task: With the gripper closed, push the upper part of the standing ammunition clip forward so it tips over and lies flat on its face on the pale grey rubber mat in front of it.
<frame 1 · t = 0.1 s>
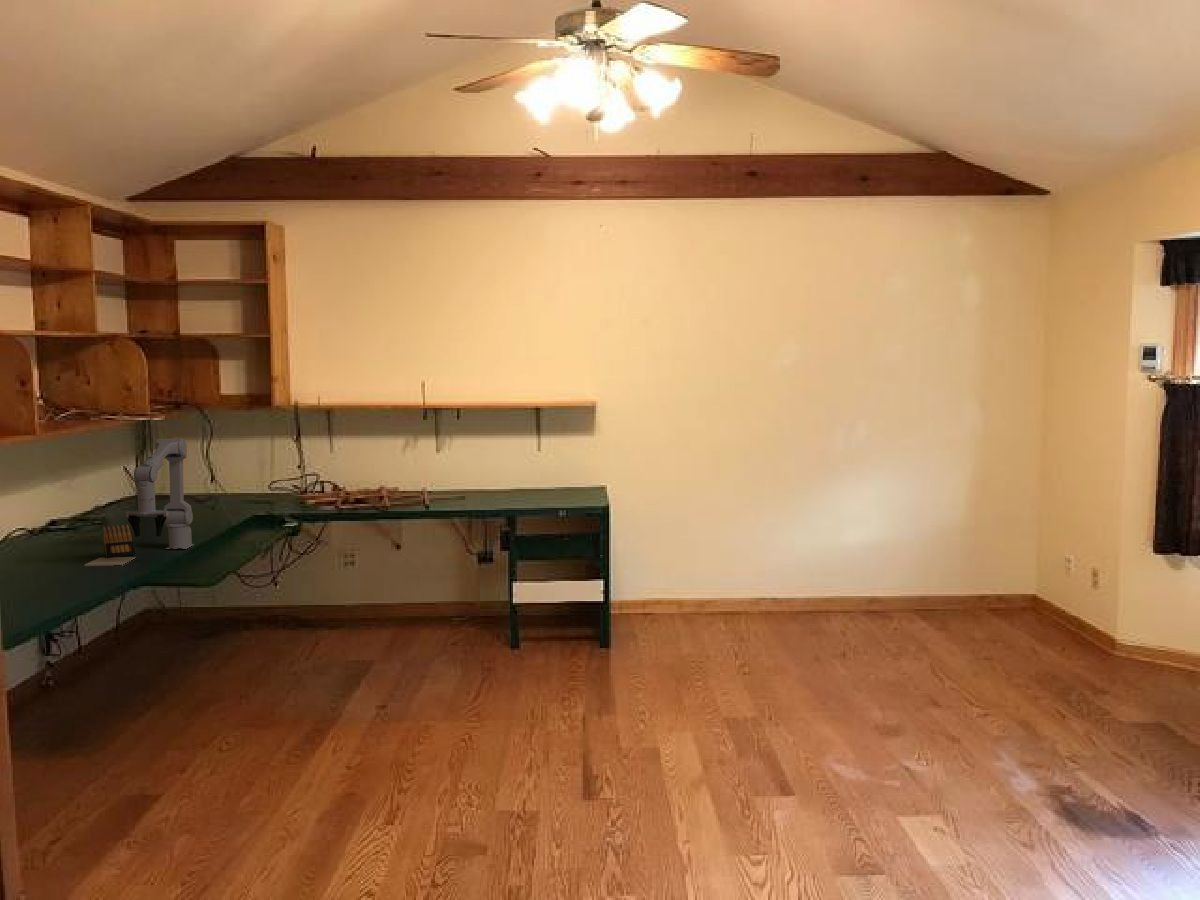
hand: (148, 536, 348), 10 cm above the table, tool pointing down, fingers open, 7 cm apart
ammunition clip: (120, 556, 359), on the table, touching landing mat
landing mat: (110, 562, 351), on the table
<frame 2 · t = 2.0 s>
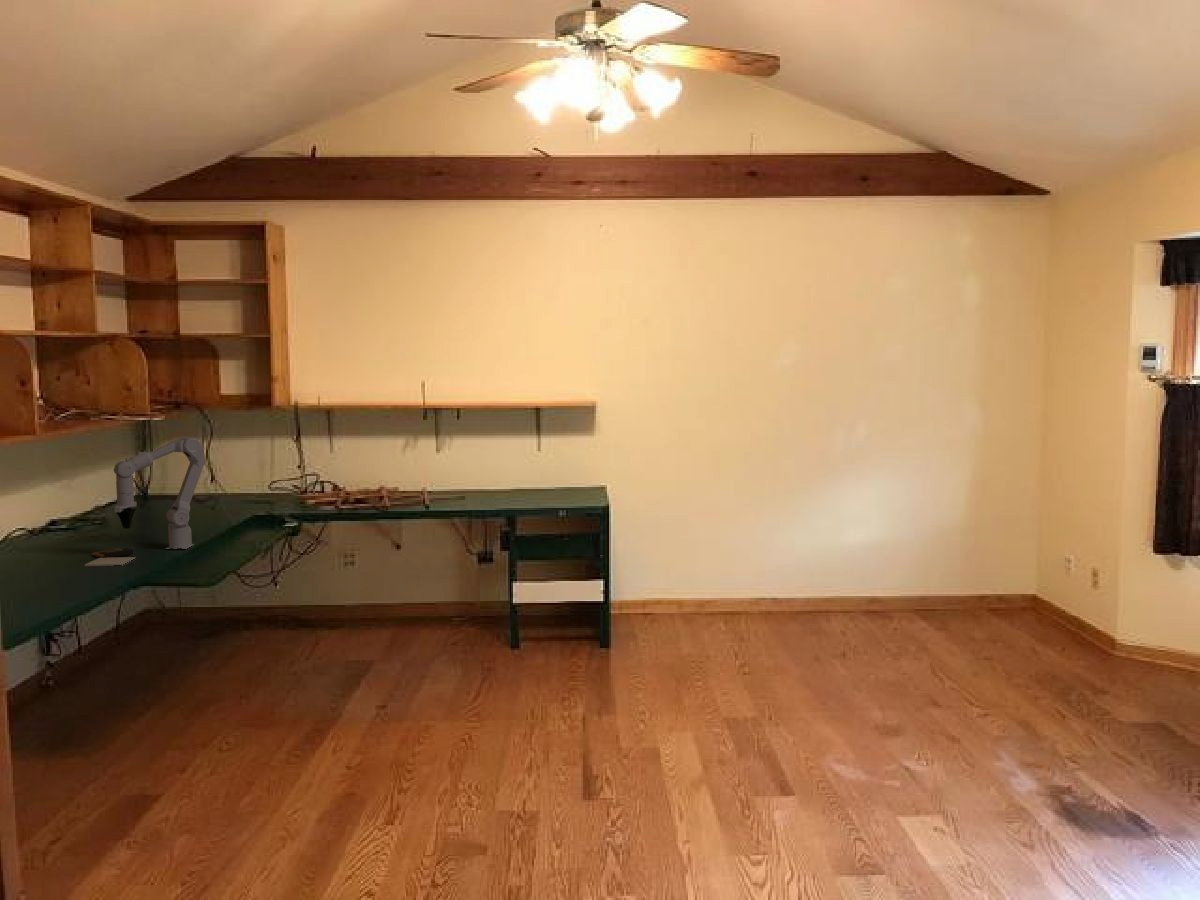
hand: (126, 528, 364), 10 cm above the table, tool pointing down, fingers closed
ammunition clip: (119, 553, 359), point 1 cm above the table, touching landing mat
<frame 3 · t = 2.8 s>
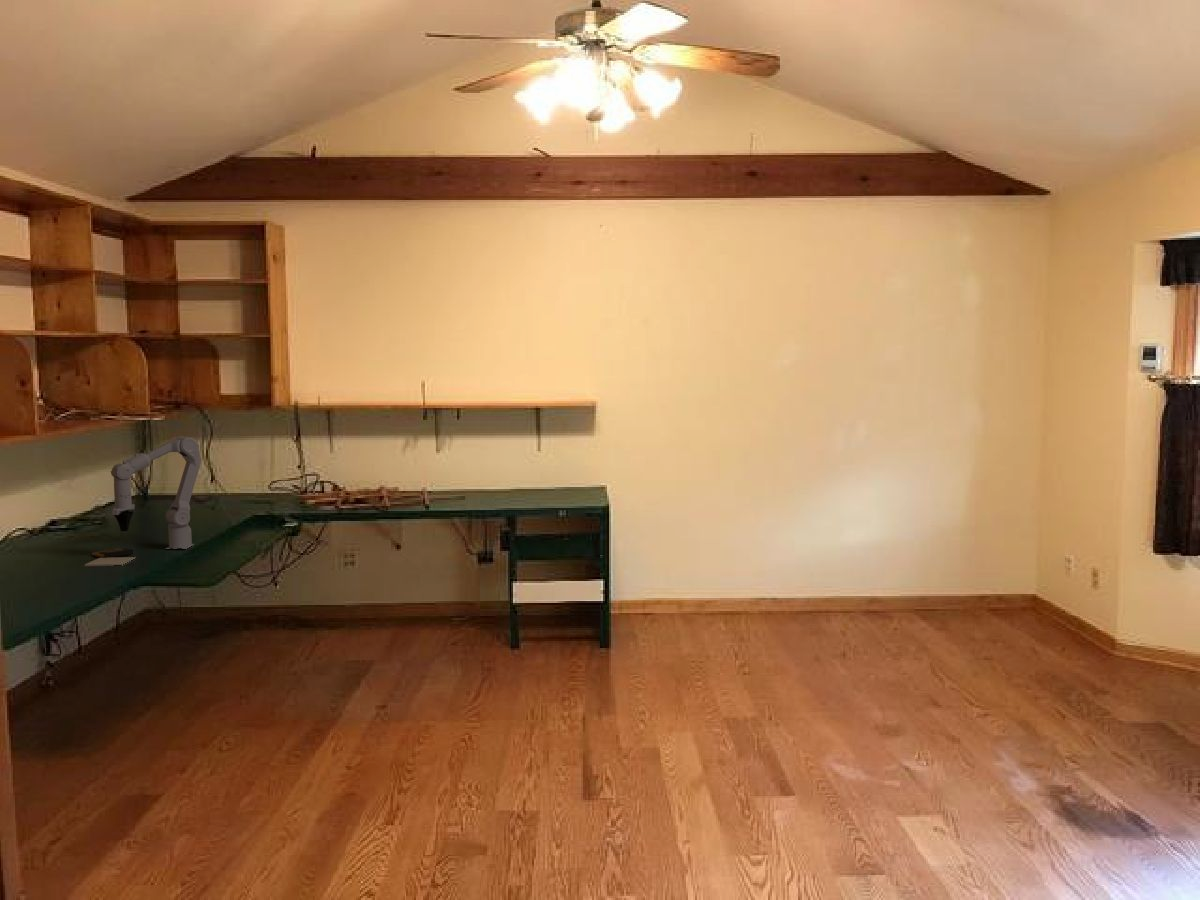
hand: (124, 530, 362), 9 cm above the table, tool pointing down, fingers closed
nothing on the table moved.
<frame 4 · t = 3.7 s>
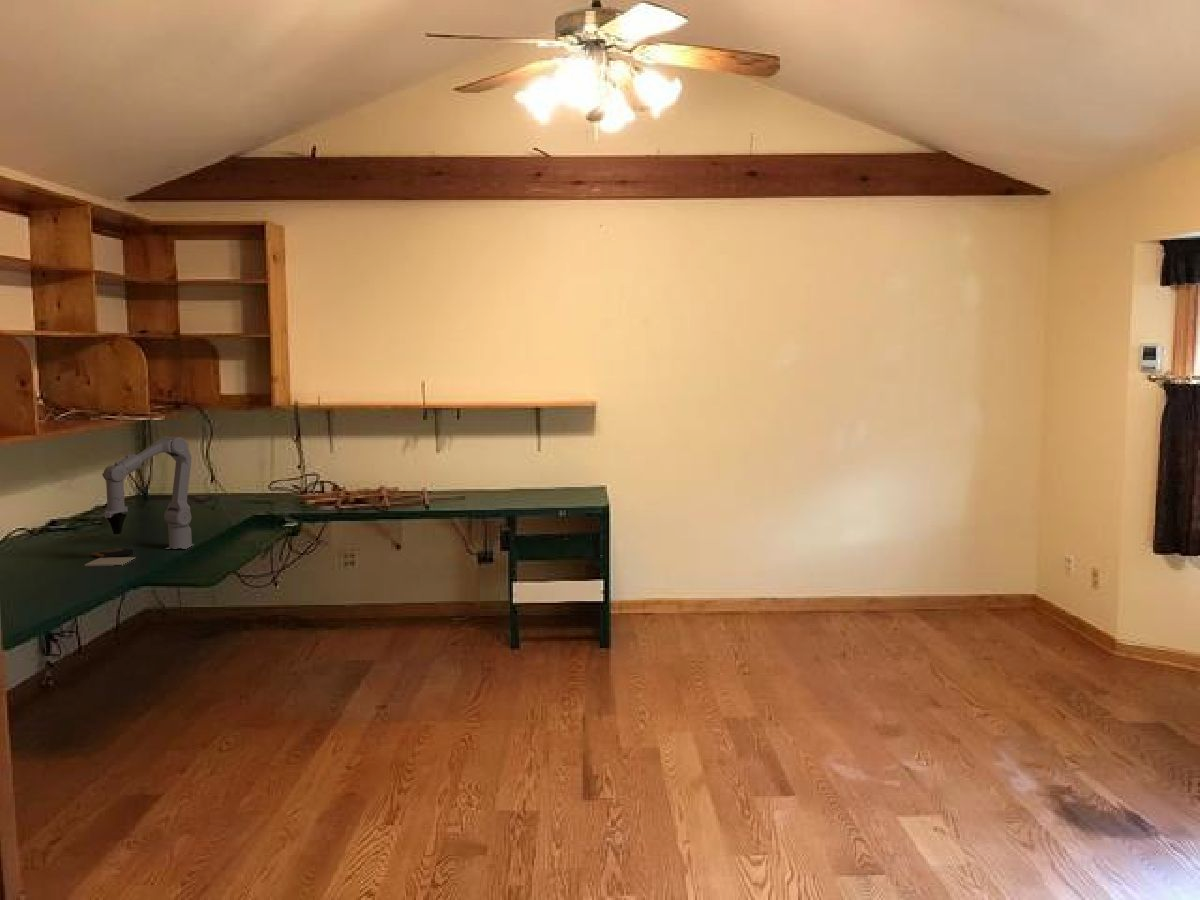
hand: (117, 533, 356), 9 cm above the table, tool pointing down, fingers closed
nothing on the table moved.
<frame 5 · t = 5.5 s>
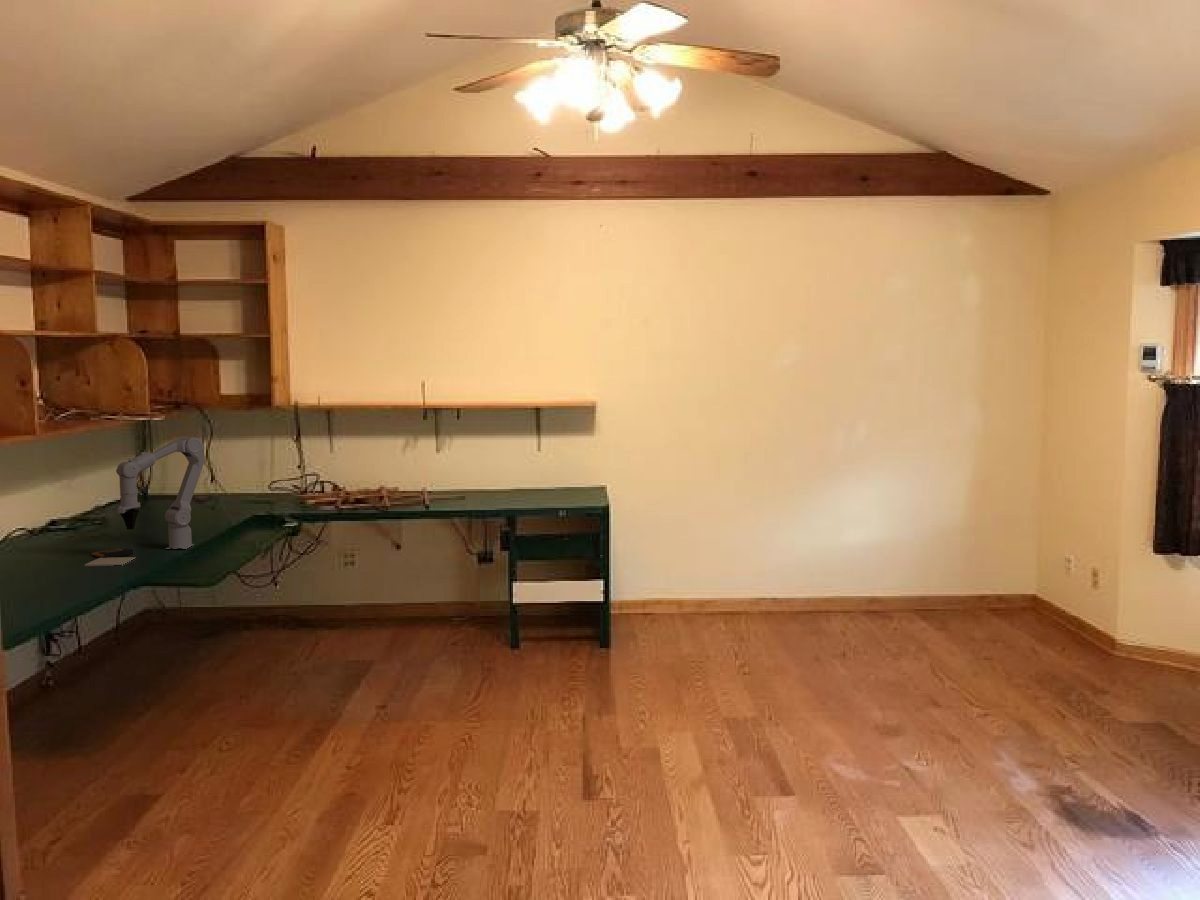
hand: (130, 529, 362), 10 cm above the table, tool pointing down, fingers closed
nothing on the table moved.
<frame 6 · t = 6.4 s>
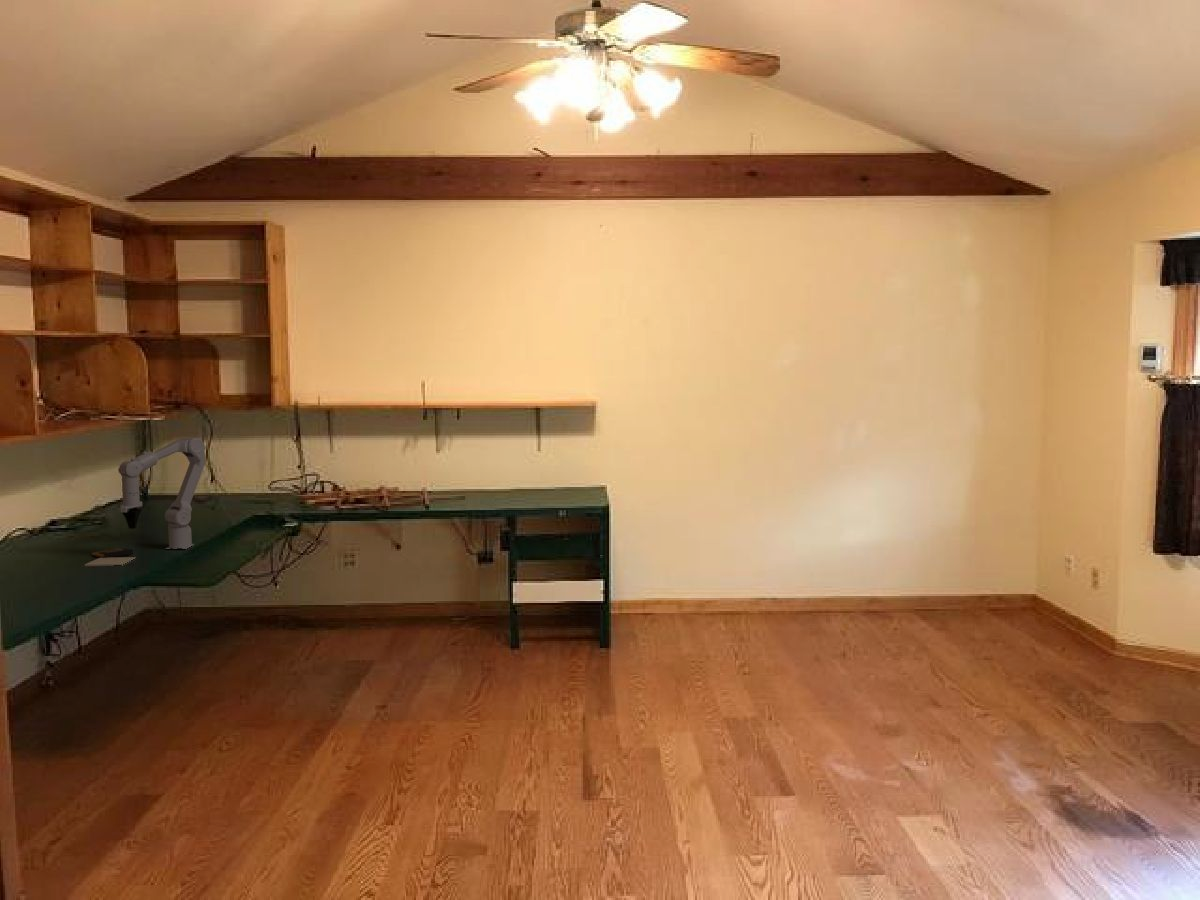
hand: (132, 528, 362), 10 cm above the table, tool pointing down, fingers closed
nothing on the table moved.
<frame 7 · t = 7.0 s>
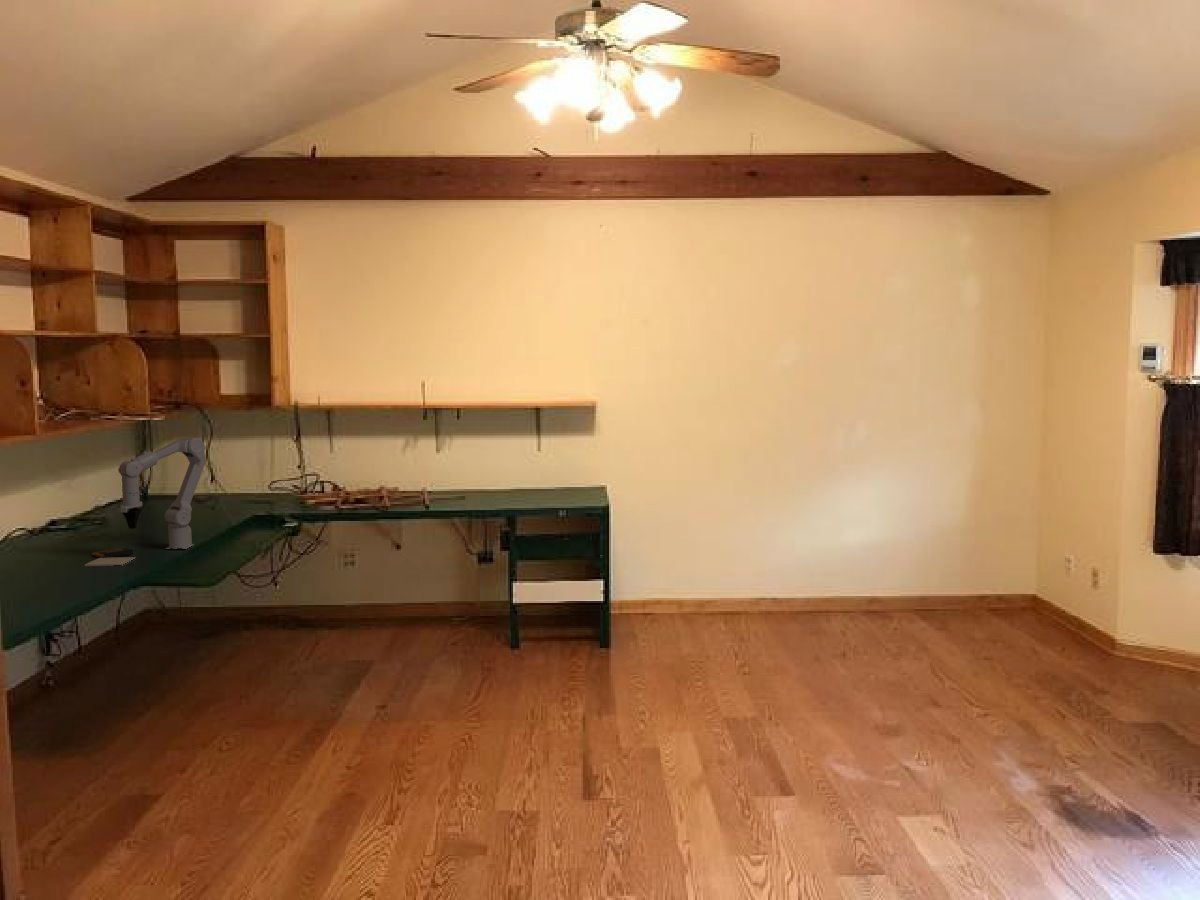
hand: (132, 528, 362), 10 cm above the table, tool pointing down, fingers closed
nothing on the table moved.
at the end: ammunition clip tilted 94°; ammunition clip touching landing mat, table; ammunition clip inside the target area (6.2 cm from its centre), point 1.4 cm above the table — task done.
